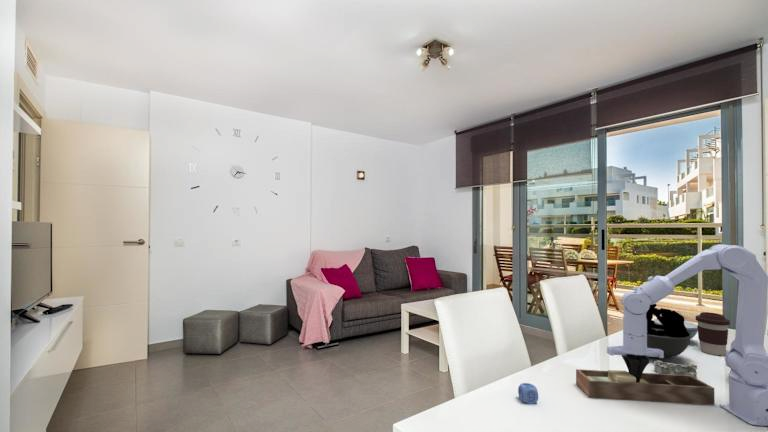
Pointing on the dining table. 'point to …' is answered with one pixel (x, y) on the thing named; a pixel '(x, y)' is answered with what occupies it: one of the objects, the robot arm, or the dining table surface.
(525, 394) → the decorative dice
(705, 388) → the brown wooden long box
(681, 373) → the egg carton
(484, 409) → the dining table surface
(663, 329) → the bowl of black rocks
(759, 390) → the robot arm
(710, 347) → the coffee cup
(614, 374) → the beech block
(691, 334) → the chinaware
